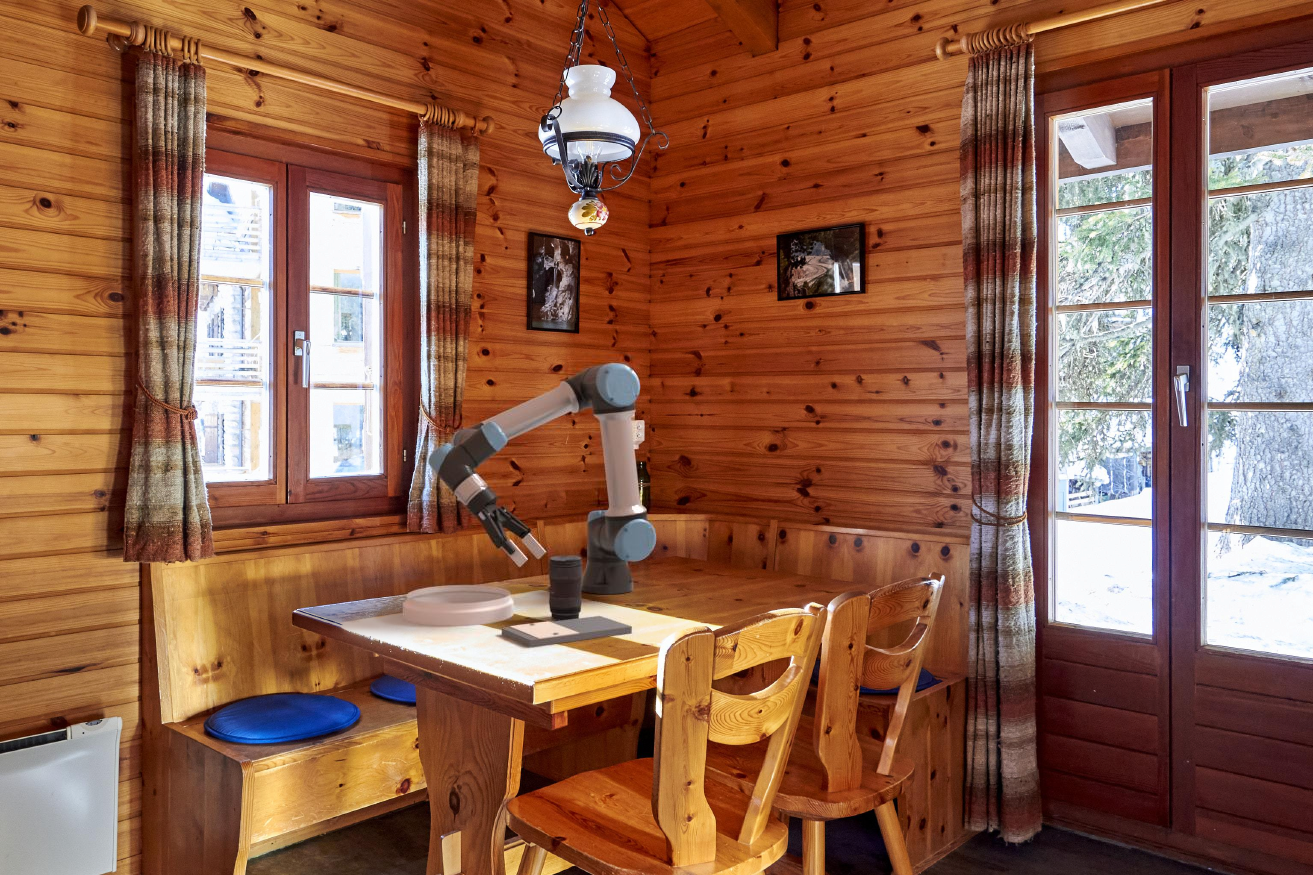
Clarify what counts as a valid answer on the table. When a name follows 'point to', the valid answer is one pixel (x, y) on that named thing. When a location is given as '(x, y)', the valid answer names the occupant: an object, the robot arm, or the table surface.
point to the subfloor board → (565, 631)
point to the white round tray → (458, 605)
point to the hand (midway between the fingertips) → (533, 559)
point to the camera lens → (565, 587)
